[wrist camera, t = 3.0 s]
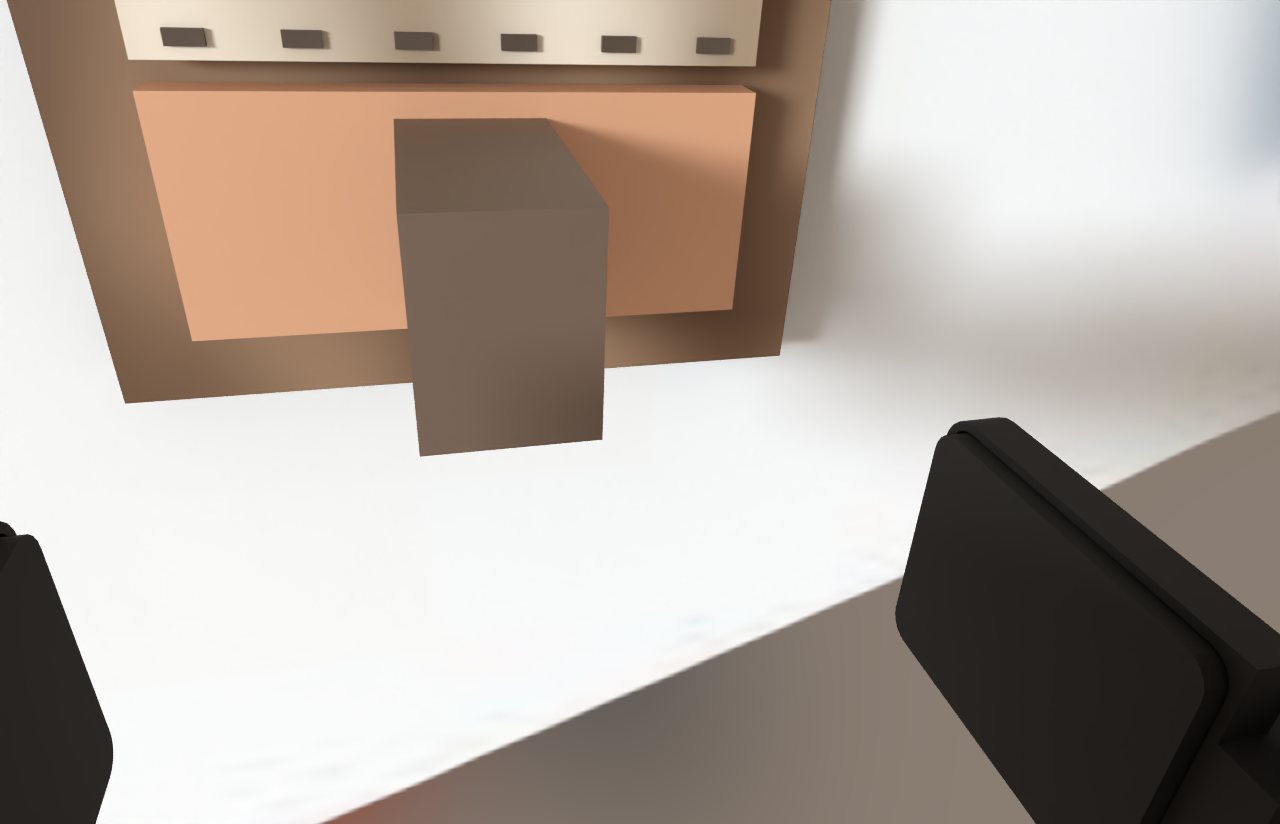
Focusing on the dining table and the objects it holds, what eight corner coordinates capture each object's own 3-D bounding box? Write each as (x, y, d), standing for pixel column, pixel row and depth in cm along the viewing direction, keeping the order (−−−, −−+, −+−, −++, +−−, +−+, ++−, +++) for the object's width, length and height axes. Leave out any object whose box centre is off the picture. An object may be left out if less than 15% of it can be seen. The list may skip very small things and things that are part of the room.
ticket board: (849, -359, 17) (917, -395, 15) (759, 332, 25) (795, 374, 22) (-99, -489, 13) (-194, -563, 11) (140, 373, 21) (112, 429, 19)
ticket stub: (741, 85, 19) (893, 167, 13) (720, 294, 22) (840, 440, 16) (144, 82, 16) (12, 185, 11) (200, 323, 19) (117, 512, 13)
